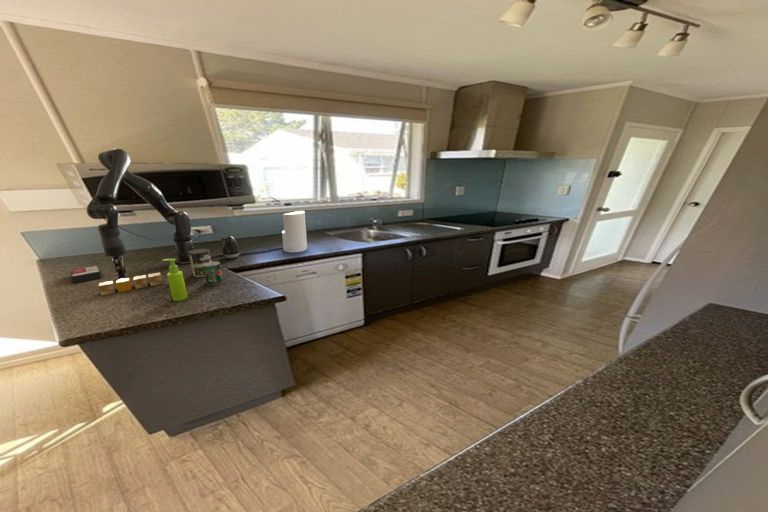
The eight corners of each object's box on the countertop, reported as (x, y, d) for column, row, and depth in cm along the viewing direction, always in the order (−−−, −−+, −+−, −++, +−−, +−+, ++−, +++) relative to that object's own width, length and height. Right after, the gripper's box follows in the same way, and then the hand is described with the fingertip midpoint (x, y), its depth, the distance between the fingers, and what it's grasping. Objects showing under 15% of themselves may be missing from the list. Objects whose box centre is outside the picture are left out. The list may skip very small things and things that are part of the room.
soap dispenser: (175, 295, 140) (166, 257, 134) (190, 295, 140) (181, 257, 134) (167, 301, 134) (157, 261, 128) (183, 300, 135) (174, 261, 129)
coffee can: (217, 271, 170) (213, 249, 166) (201, 278, 161) (197, 254, 156) (204, 269, 173) (200, 247, 169) (188, 275, 164) (183, 252, 160)
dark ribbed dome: (225, 255, 198) (221, 234, 194) (241, 254, 201) (238, 233, 197) (222, 260, 189) (218, 238, 184) (239, 259, 192) (236, 237, 187)
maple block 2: (162, 280, 157) (159, 272, 155) (162, 283, 153) (160, 275, 151) (150, 282, 154) (148, 274, 152) (150, 286, 150) (148, 277, 148)
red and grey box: (97, 265, 167) (99, 270, 157) (99, 271, 169) (101, 277, 159) (70, 269, 160) (70, 275, 150) (73, 276, 161) (73, 283, 151)
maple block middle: (148, 283, 153) (145, 274, 151) (148, 286, 149) (145, 277, 148) (136, 285, 150) (133, 276, 148) (135, 288, 146) (133, 279, 145)
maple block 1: (115, 289, 145) (112, 280, 144) (114, 292, 142) (112, 283, 140) (102, 292, 142) (99, 282, 141) (101, 295, 139) (98, 286, 137)
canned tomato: (204, 282, 156) (201, 263, 152) (220, 278, 161) (217, 260, 158) (208, 286, 150) (205, 267, 147) (225, 282, 156) (221, 263, 152)
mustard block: (131, 286, 149) (129, 277, 148) (131, 289, 145) (129, 280, 144) (119, 288, 146) (116, 279, 145) (118, 292, 142) (115, 283, 141)
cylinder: (312, 248, 219) (309, 212, 210) (294, 253, 205) (291, 215, 196) (296, 244, 228) (293, 209, 219) (278, 249, 214) (274, 212, 205)
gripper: (123, 247, 135) (132, 278, 141) (124, 240, 146) (132, 269, 151) (101, 250, 131) (112, 282, 136) (104, 242, 141) (114, 273, 147)
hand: (123, 275), depth 144 cm, fingers open, 8 cm apart
